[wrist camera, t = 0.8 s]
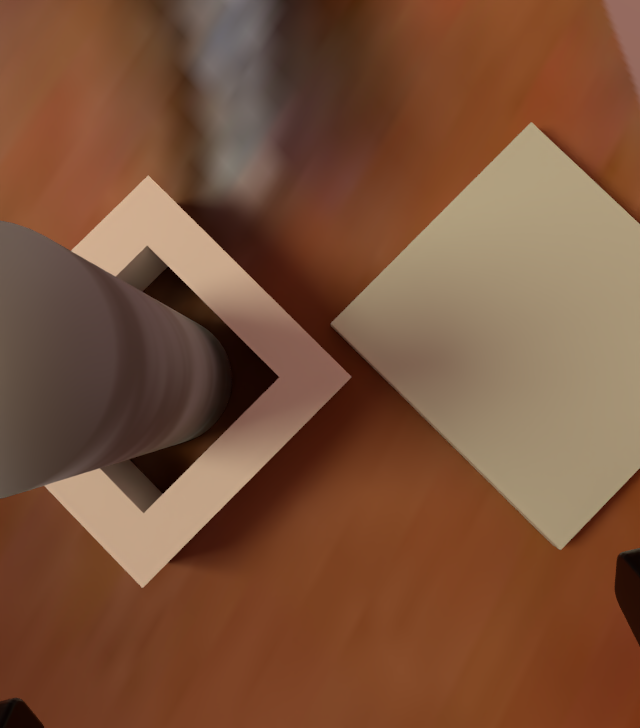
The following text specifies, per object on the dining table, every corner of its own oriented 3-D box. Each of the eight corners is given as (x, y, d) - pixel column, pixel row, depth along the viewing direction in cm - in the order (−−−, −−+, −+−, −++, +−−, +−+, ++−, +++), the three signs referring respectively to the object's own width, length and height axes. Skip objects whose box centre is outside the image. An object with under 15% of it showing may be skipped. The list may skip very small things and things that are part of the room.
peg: (167, 470, 23) (-34, 563, 10) (79, 380, 24) (-227, 358, 11) (258, 379, 23) (173, 358, 10) (170, 291, 24) (-22, 161, 11)
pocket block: (166, 563, 23) (142, 587, 20) (-10, 380, 24) (-60, 378, 21) (348, 379, 23) (351, 377, 20) (170, 203, 24) (148, 175, 21)
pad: (552, 545, 23) (560, 550, 22) (330, 325, 23) (330, 323, 23) (748, 342, 23) (762, 340, 22) (524, 131, 24) (531, 122, 23)
